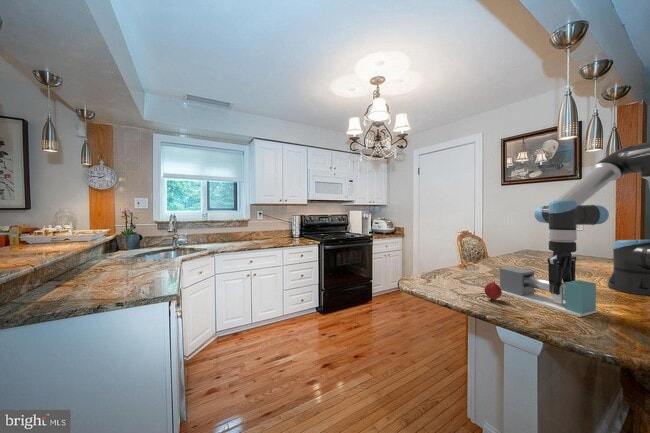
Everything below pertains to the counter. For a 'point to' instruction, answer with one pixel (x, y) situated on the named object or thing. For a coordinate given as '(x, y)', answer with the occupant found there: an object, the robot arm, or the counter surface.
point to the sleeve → (515, 281)
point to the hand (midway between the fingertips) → (562, 301)
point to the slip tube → (540, 284)
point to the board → (547, 302)
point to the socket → (580, 296)
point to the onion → (493, 290)
